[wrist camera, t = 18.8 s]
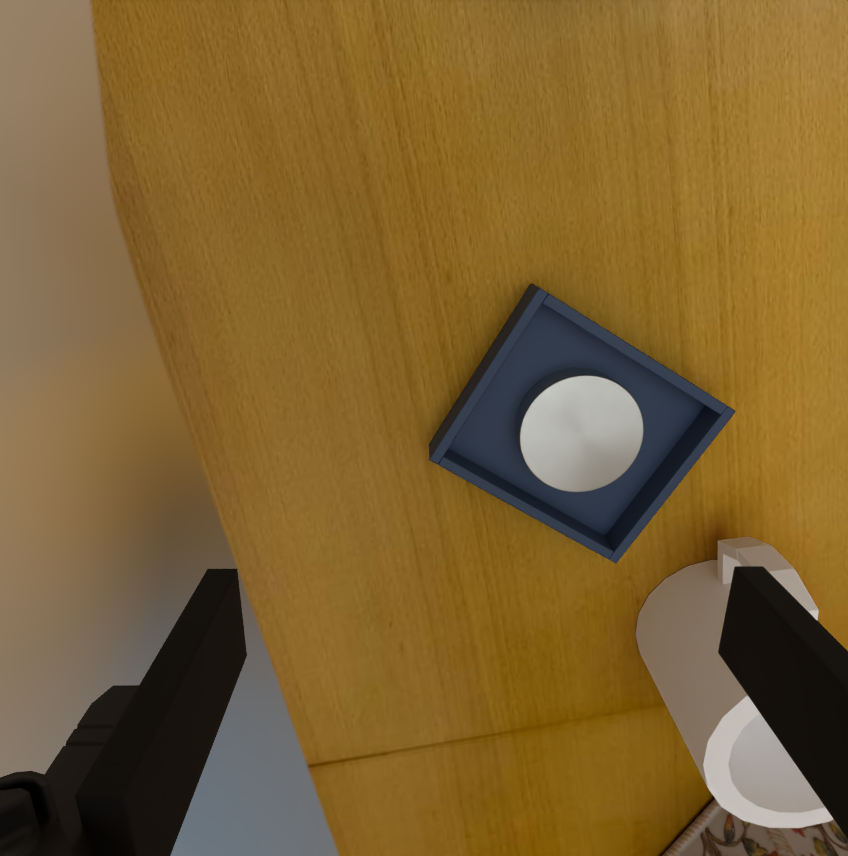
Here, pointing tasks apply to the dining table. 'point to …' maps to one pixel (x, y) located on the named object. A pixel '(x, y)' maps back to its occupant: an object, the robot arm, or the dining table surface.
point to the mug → (724, 689)
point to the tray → (542, 356)
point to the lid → (578, 430)
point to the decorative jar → (755, 838)
